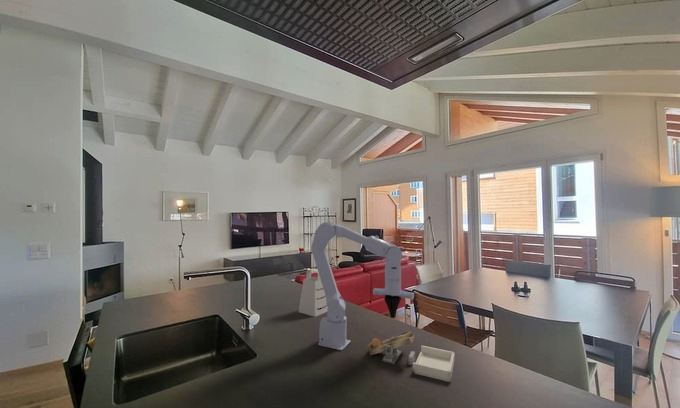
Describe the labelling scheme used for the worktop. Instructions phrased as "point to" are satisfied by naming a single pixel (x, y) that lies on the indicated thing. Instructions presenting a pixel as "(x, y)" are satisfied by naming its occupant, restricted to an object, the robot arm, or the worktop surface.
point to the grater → (312, 296)
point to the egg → (376, 342)
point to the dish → (435, 363)
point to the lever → (392, 343)
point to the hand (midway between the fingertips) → (393, 317)
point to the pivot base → (396, 355)
